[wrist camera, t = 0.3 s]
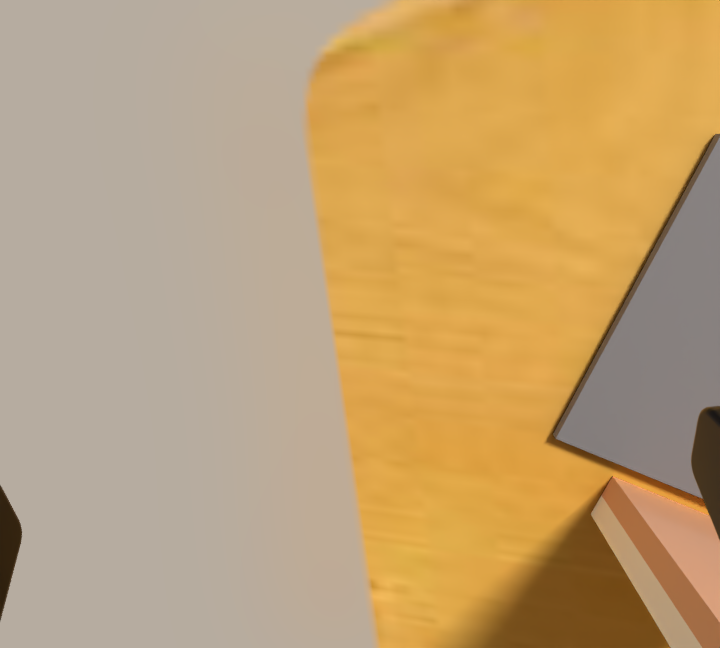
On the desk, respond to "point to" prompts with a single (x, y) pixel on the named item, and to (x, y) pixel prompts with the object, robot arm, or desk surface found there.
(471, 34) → the desk surface
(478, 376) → the desk surface
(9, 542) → the robot arm
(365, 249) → the desk surface
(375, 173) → the desk surface
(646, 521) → the tile
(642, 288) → the gray pad
